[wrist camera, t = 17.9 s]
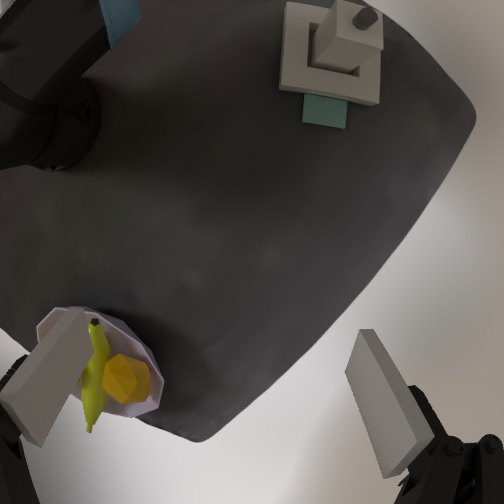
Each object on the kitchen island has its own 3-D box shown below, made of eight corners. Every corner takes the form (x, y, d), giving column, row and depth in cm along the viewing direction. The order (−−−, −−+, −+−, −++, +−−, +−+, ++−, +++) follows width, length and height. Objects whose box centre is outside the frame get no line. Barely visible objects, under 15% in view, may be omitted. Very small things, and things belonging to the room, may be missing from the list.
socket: (366, 133, 36) (376, 132, 32) (275, 118, 35) (278, 116, 32) (370, 30, 30) (379, 22, 27) (284, 11, 29) (287, 1, 26)
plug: (346, 74, 32) (393, 43, 19) (310, 66, 32) (344, 28, 18) (347, 43, 30) (391, 4, 17) (312, 36, 30) (343, -11, 17)
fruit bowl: (68, 262, 42) (31, 293, 31) (196, 351, 48) (187, 398, 37) (39, 352, 49) (16, 382, 38) (136, 416, 55) (125, 453, 44)
